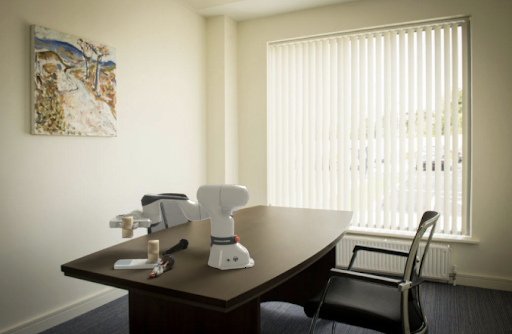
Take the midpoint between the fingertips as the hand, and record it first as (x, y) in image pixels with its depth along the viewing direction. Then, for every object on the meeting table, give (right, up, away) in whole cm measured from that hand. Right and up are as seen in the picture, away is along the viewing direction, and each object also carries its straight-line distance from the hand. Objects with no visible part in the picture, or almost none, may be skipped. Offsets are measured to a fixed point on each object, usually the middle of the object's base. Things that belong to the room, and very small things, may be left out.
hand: (127, 226), depth 186 cm
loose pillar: (0, -6, +1) cm, 6 cm away
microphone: (+20, -17, +18) cm, 32 cm away
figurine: (+21, -18, -17) cm, 32 cm away
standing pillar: (+15, -16, -7) cm, 23 cm away
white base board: (+8, -17, -8) cm, 21 cm away
